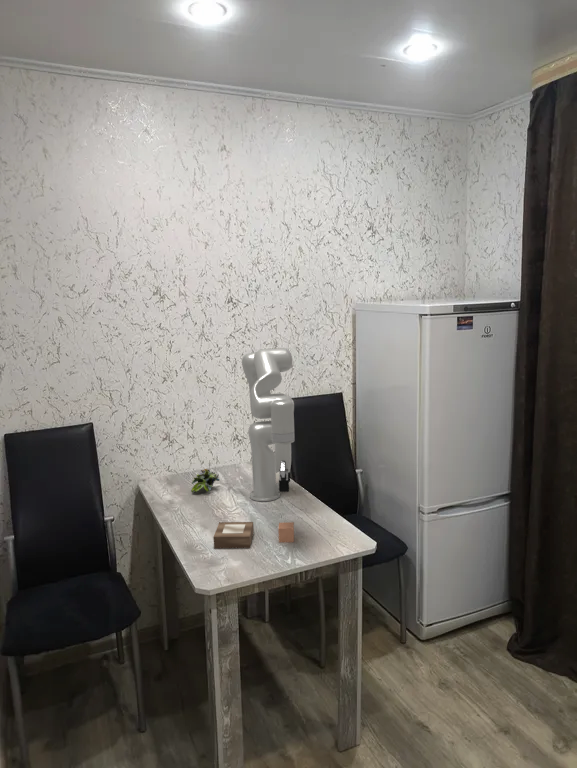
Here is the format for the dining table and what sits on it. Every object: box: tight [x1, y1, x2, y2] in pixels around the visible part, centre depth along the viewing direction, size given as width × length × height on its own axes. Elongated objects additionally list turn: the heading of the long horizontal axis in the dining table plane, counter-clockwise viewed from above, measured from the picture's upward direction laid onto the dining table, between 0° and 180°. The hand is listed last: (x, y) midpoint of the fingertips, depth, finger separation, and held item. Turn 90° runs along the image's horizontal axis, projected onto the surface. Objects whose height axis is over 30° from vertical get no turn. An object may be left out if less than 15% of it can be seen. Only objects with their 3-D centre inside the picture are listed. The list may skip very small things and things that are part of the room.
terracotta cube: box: [277, 521, 295, 543], centre depth 191 cm, size 5×5×5 cm
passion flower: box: [190, 468, 220, 494], centre depth 239 cm, size 11×11×12 cm
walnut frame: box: [212, 521, 255, 549], centre depth 191 cm, size 12×12×4 cm
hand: (284, 486), depth 188 cm, fingers open, 9 cm apart
